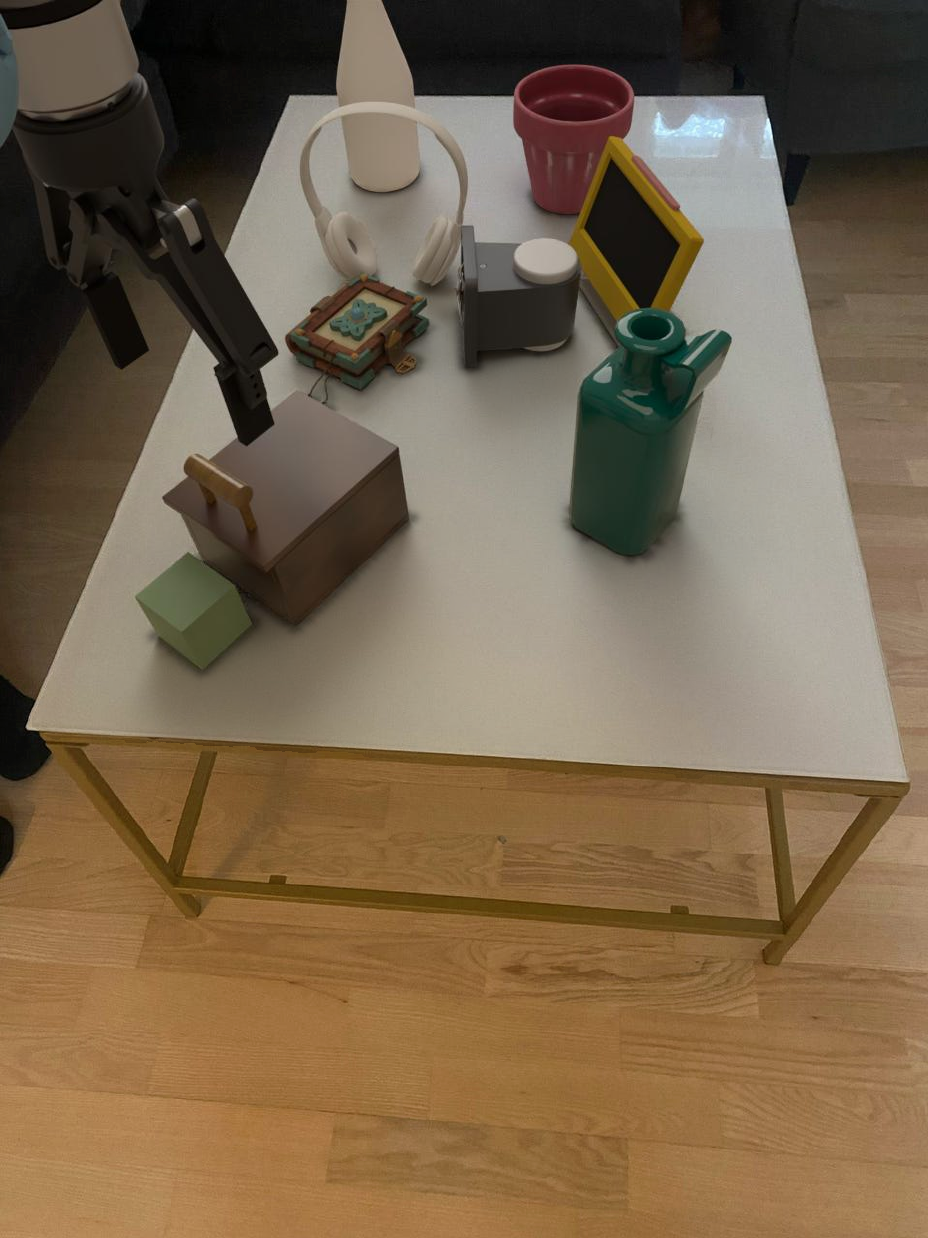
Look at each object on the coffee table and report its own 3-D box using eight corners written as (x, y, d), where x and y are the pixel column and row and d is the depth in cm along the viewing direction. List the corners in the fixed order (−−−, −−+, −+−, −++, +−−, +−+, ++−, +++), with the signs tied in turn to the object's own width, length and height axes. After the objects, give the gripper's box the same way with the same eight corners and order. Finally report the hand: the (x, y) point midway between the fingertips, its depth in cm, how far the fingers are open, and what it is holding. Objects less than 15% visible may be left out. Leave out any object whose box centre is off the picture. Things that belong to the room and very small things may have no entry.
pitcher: (560, 522, 85) (571, 331, 67) (610, 470, 89) (634, 274, 71) (647, 572, 82) (685, 384, 64) (696, 515, 85) (746, 321, 67)
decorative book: (257, 383, 99) (246, 346, 95) (357, 296, 107) (351, 259, 102) (351, 428, 94) (344, 391, 90) (449, 335, 102) (446, 297, 98)
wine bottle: (369, 202, 118) (329, -72, 93) (339, 169, 122) (294, -100, 98) (433, 180, 120) (411, -94, 95) (401, 148, 125) (372, -120, 100)
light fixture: (577, 368, 98) (589, 281, 89) (457, 371, 98) (456, 284, 89) (567, 306, 105) (577, 218, 96) (453, 308, 104) (453, 221, 95)
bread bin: (296, 626, 80) (274, 566, 73) (202, 560, 85) (172, 497, 78) (409, 518, 87) (399, 453, 79) (316, 462, 92) (298, 396, 84)
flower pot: (644, 184, 117) (657, 80, 106) (587, 239, 111) (595, 134, 100) (551, 154, 122) (554, 52, 111) (492, 204, 116) (489, 102, 105)
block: (202, 670, 78) (181, 632, 73) (157, 635, 80) (134, 596, 75) (252, 624, 81) (235, 584, 76) (207, 592, 83) (187, 551, 78)
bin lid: (266, 573, 73) (248, 526, 68) (164, 503, 77) (141, 455, 73) (399, 453, 79) (392, 403, 75) (298, 395, 84) (285, 345, 79)
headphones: (467, 299, 105) (458, 126, 89) (315, 292, 107) (278, 122, 91) (475, 262, 109) (468, 90, 93) (329, 256, 111) (296, 87, 95)
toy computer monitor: (565, 272, 107) (572, 140, 94) (626, 257, 108) (641, 124, 95) (633, 378, 96) (652, 245, 83) (700, 361, 97) (729, 227, 84)
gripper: (288, 122, 44) (353, 435, 62) (-5, 4, 54) (123, 305, 72) (173, 193, 41) (275, 502, 59) (-116, 55, 51) (46, 356, 68)
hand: (192, 394), depth 65 cm, fingers open, 13 cm apart
